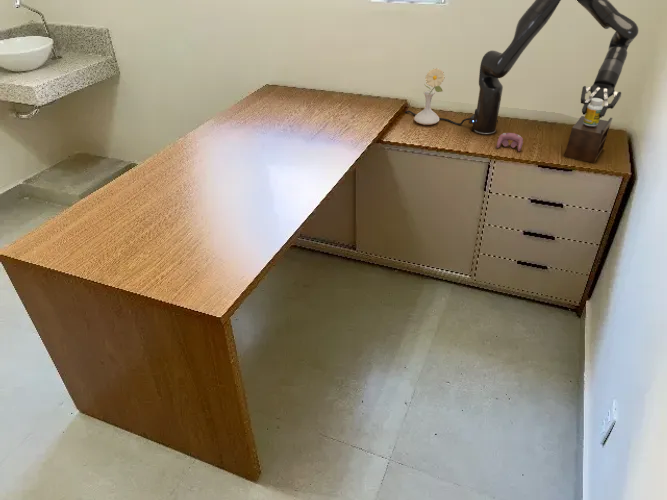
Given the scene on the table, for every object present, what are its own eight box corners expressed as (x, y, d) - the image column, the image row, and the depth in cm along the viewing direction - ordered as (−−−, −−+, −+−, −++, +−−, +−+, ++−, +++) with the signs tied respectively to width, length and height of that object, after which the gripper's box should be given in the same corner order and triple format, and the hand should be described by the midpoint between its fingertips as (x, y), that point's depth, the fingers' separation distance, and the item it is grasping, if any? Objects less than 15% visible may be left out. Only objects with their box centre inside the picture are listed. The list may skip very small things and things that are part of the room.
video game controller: (520, 152, 207) (525, 135, 206) (520, 151, 203) (524, 134, 202) (496, 148, 211) (500, 131, 209) (495, 147, 207) (499, 130, 205)
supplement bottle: (588, 120, 197) (595, 96, 192) (600, 124, 194) (608, 100, 188) (579, 123, 195) (586, 99, 189) (592, 127, 191) (599, 103, 186)
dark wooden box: (564, 156, 200) (573, 123, 192) (574, 143, 209) (582, 112, 201) (593, 163, 195) (603, 130, 187) (602, 149, 204) (612, 117, 196)
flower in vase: (408, 122, 232) (412, 66, 217) (424, 115, 238) (429, 61, 223) (431, 130, 224) (436, 73, 209) (447, 123, 230) (453, 67, 215)
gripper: (628, 82, 191) (611, 123, 191) (588, 76, 198) (572, 115, 197) (630, 72, 185) (612, 114, 184) (588, 66, 191) (571, 107, 191)
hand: (592, 115), depth 191 cm, fingers closed on supplement bottle, 5 cm apart
